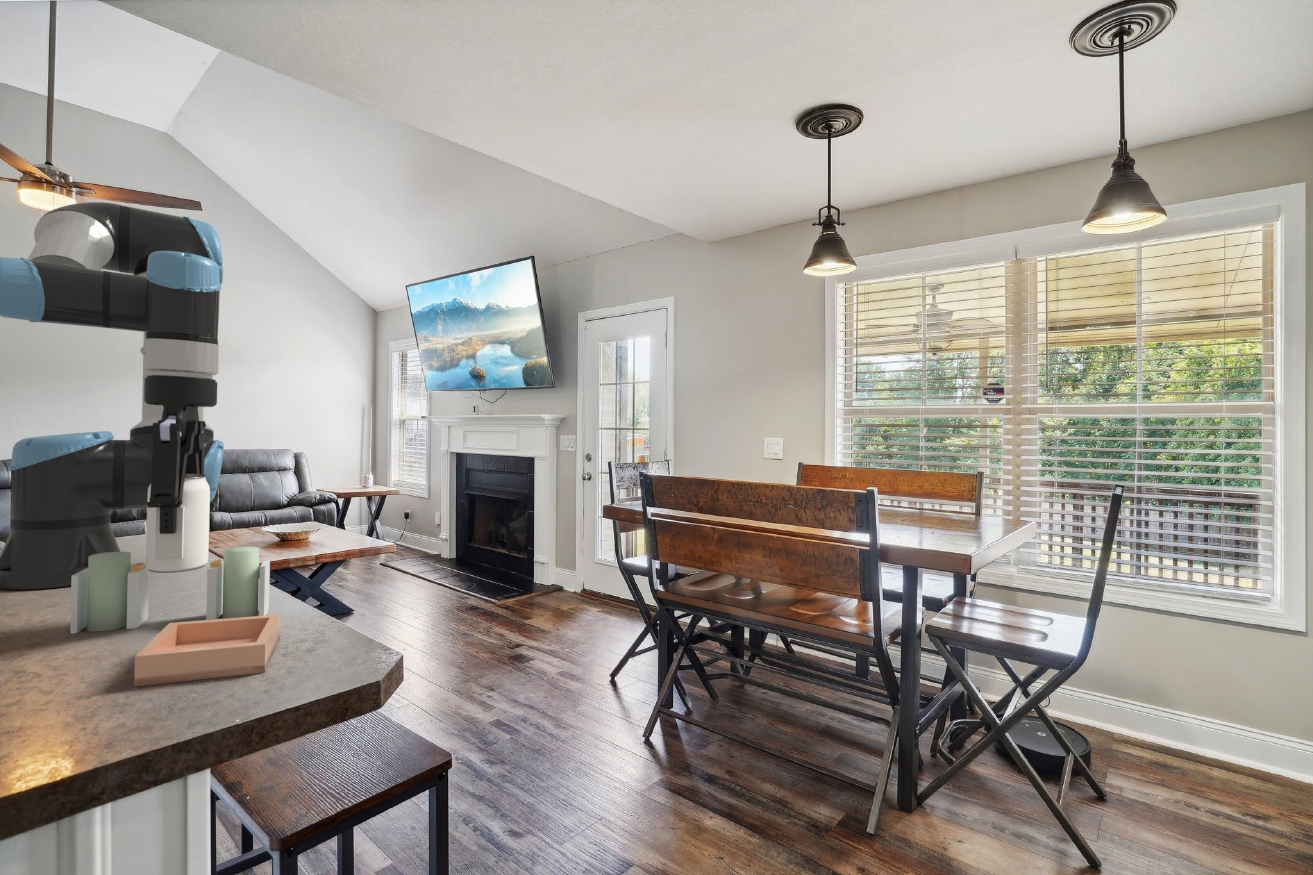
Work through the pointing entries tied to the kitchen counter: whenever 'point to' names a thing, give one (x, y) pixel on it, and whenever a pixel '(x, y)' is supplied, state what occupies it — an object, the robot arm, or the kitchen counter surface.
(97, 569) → the peg
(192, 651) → the tray
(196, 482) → the can
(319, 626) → the kitchen counter surface
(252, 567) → the green piece
